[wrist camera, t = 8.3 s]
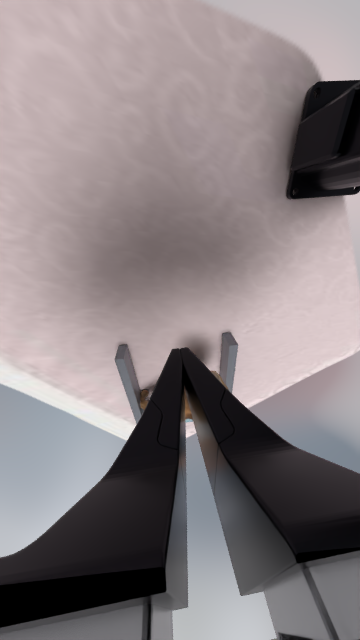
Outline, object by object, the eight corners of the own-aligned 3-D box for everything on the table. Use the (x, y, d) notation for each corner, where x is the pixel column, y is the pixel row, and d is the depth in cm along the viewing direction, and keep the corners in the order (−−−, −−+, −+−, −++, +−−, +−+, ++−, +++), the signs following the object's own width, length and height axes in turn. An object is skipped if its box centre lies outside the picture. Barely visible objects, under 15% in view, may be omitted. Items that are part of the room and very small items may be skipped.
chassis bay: (230, 332, 22) (238, 344, 20) (223, 401, 30) (228, 416, 28) (118, 345, 22) (114, 359, 20) (140, 413, 29) (138, 429, 27)
